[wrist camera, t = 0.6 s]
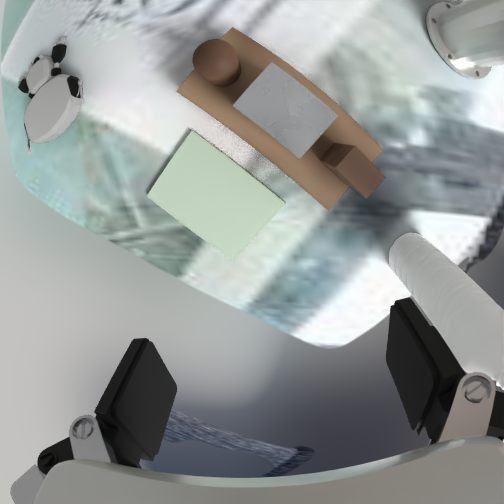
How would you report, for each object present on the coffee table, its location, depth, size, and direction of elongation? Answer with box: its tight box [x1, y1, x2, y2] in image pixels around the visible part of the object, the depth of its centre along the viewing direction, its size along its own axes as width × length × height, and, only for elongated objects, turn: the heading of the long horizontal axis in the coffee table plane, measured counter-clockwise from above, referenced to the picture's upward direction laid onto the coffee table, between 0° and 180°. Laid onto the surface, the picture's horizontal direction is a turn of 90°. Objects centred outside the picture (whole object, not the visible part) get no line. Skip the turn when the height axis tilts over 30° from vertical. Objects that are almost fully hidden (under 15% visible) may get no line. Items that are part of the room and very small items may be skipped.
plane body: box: [176, 27, 386, 210], centre depth 24 cm, size 9×20×12 cm, turn 51°
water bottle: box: [389, 233, 504, 390], centre depth 23 cm, size 9×6×25 cm
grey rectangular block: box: [233, 62, 338, 159], centre depth 23 cm, size 5×7×5 cm
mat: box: [147, 131, 285, 262], centre depth 33 cm, size 10×14×1 cm
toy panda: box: [18, 36, 84, 155], centre depth 26 cm, size 12×4×15 cm
